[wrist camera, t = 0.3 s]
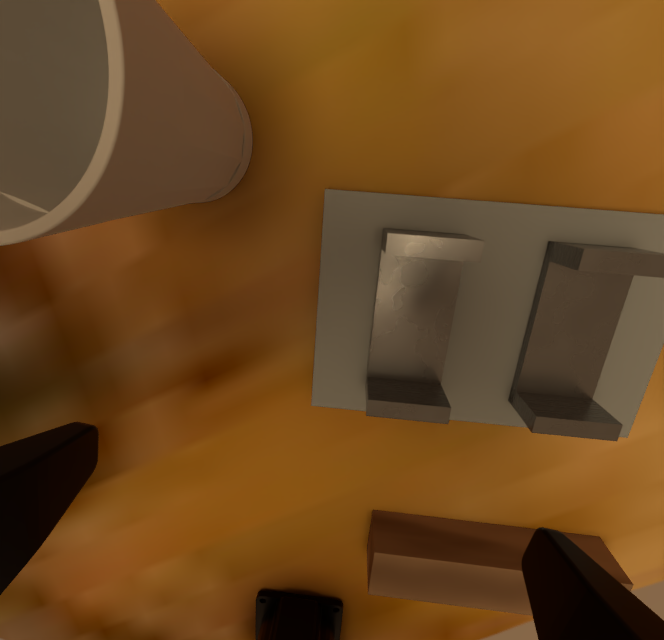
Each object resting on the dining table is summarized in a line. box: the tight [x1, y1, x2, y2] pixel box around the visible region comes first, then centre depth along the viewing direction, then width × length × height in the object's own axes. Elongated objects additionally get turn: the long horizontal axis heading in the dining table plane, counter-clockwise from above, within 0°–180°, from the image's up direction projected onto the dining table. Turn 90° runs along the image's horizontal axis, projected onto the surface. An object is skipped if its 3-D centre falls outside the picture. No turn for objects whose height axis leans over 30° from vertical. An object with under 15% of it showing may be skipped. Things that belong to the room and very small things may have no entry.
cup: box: [0, 0, 253, 246], centre depth 13 cm, size 8×8×12 cm
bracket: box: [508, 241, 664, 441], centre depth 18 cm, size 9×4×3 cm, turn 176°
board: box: [311, 189, 664, 438], centre depth 20 cm, size 12×18×1 cm, turn 86°
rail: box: [367, 510, 633, 616], centre depth 24 cm, size 4×15×4 cm, turn 85°
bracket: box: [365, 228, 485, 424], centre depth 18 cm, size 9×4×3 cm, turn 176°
